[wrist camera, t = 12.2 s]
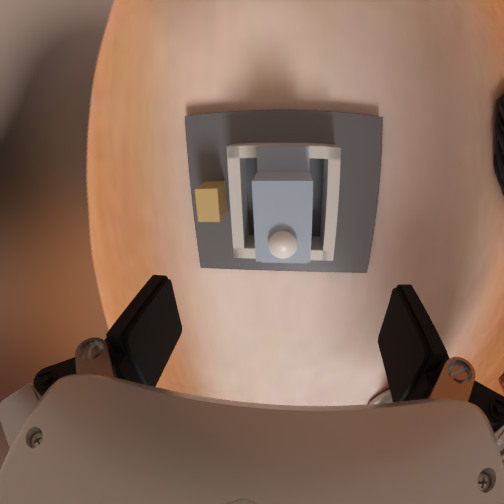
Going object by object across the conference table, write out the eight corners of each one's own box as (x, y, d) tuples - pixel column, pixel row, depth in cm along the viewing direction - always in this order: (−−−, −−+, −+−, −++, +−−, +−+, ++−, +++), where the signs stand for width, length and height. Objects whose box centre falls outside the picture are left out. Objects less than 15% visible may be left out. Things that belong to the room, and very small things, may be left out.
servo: (306, 142, 22) (313, 151, 16) (305, 245, 27) (308, 288, 20) (261, 143, 23) (249, 151, 16) (265, 244, 27) (256, 286, 21)
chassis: (379, 117, 21) (394, 117, 17) (364, 267, 28) (373, 288, 24) (188, 116, 23) (171, 116, 20) (203, 263, 30) (192, 282, 27)
